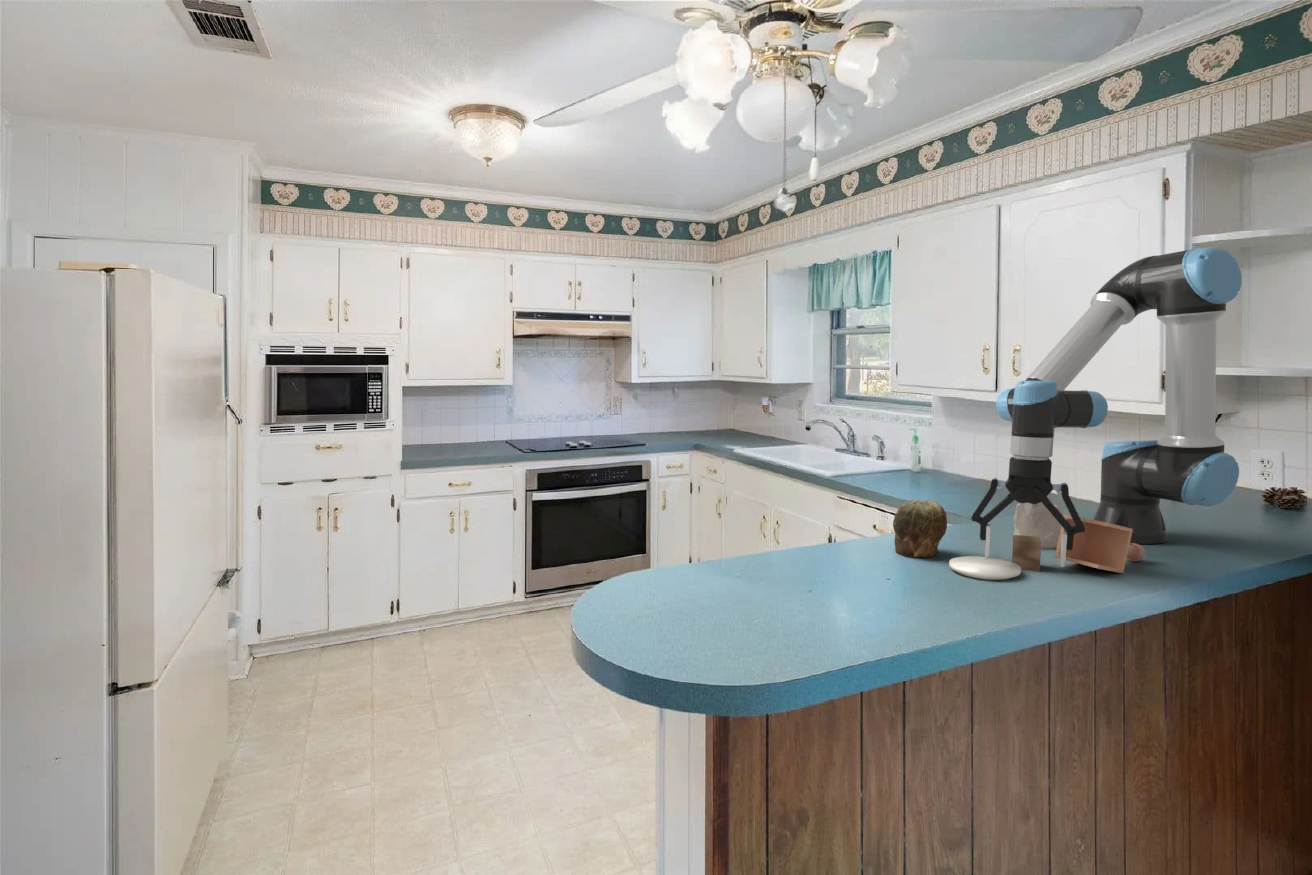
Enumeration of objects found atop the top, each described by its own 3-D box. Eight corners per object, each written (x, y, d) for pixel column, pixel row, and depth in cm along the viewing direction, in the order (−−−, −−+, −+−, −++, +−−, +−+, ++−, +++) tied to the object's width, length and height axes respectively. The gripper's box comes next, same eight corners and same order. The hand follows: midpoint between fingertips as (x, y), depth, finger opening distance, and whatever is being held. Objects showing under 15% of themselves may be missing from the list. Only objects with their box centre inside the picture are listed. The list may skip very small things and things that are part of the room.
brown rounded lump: (938, 563, 146) (939, 506, 145) (886, 555, 153) (887, 501, 151) (952, 552, 155) (953, 498, 153) (902, 545, 161) (903, 494, 160)
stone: (1055, 544, 160) (1058, 494, 159) (1064, 550, 155) (1067, 498, 154) (1008, 543, 162) (1010, 493, 161) (1015, 548, 157) (1017, 497, 156)
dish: (998, 561, 146) (998, 555, 146) (1035, 580, 133) (1035, 573, 133) (937, 563, 146) (938, 557, 145) (968, 582, 133) (968, 575, 133)
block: (1039, 565, 143) (1040, 536, 143) (1039, 571, 139) (1041, 542, 138) (1012, 562, 146) (1013, 534, 145) (1011, 568, 141) (1012, 539, 141)
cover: (1054, 557, 142) (1113, 569, 150) (1097, 568, 134) (1157, 580, 142) (1064, 514, 142) (1122, 528, 150) (1107, 522, 134) (1167, 537, 142)
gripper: (1101, 459, 138) (1093, 564, 140) (964, 451, 149) (958, 548, 151) (1106, 464, 131) (1097, 574, 133) (961, 454, 142) (955, 556, 144)
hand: (1023, 560), depth 142 cm, fingers open, 13 cm apart
